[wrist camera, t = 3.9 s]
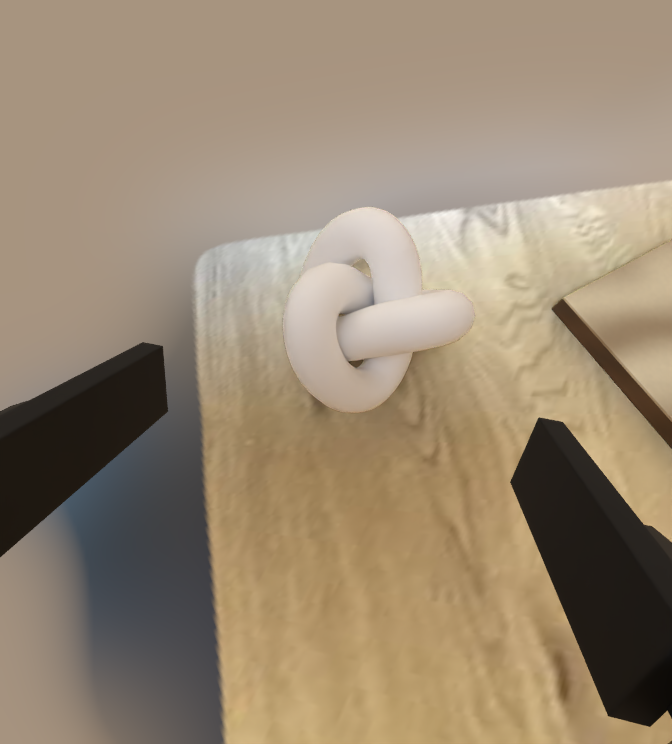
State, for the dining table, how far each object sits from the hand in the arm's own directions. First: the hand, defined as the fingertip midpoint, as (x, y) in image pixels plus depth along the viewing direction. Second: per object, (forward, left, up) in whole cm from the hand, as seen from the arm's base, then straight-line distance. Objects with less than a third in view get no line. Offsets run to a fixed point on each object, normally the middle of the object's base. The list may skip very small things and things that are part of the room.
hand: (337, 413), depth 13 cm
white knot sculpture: (-6, +5, -13) cm, 15 cm away
